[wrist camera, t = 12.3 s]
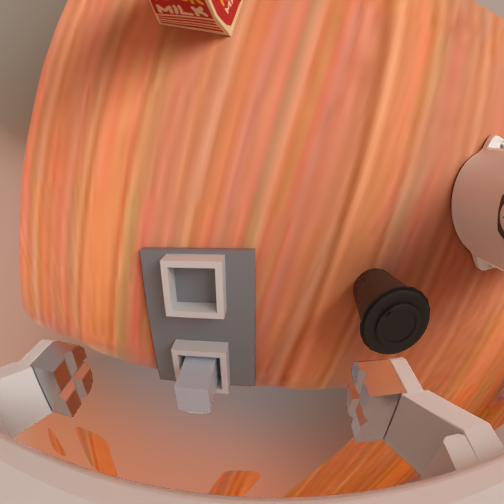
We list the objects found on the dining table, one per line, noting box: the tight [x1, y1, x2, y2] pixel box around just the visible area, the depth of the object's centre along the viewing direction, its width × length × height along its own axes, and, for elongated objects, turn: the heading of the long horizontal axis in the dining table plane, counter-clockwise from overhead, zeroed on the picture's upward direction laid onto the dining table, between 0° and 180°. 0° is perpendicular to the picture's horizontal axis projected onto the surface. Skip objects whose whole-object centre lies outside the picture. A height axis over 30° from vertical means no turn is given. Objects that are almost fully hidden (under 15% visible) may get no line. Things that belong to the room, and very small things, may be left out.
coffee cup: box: [354, 268, 430, 354], centre depth 34 cm, size 8×8×10 cm
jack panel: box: [140, 248, 255, 394], centre depth 39 cm, size 14×20×4 cm
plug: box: [174, 356, 219, 414], centre depth 38 cm, size 4×5×8 cm
